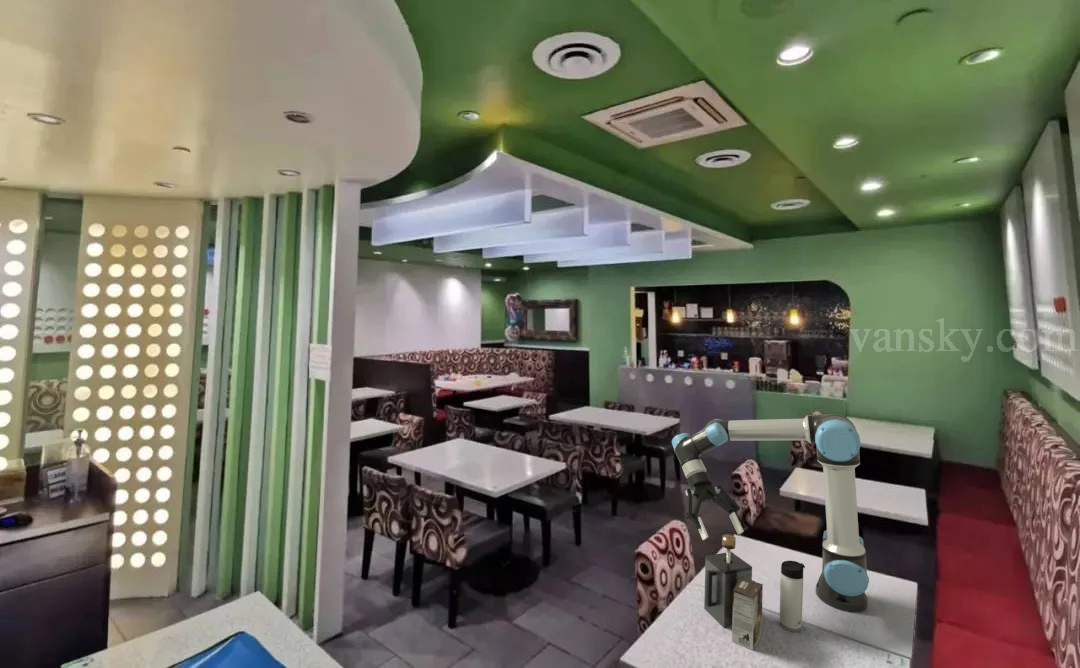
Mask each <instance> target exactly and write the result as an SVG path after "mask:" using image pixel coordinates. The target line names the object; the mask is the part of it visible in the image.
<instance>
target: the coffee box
mask: <svg viewBox="0 0 1080 668" xmlns="http://www.w3.org/2000/svg"><path fill="white" fill-rule="evenodd" d="M763 589H764V588H763V583H761V582H757V581H756V580H755V581H754V580H753V579H752V580H750V579H747V578H744V577H741V579H740V580H739V582H738V583H737V585H736V586H735V588H734V589H733V622H732V626H731V628H732V629H731V631H732V632H731V642H733V643H735V644H737V645H739V646H741V647H744V648H747V649H749V650H751V651H755V648H756V646H757V645H758V642H759V641H760V638H761V636H762V633H763V631H762V630H763V621H762V620H763V594H764V593H763Z"/></svg>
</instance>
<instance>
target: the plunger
mask: <svg viewBox="0 0 1080 668" xmlns="http://www.w3.org/2000/svg"><path fill="white" fill-rule="evenodd" d="M721 537H722V538H721V539H722V540H721V542H722V543H721V546H722V547H723V548H724V549H726V552H727V555H726V563H730V555H731V552H732V550H735V549H736V536H735V535H733V534H730V533H729V534H723V535H721Z"/></svg>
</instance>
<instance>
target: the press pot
mask: <svg viewBox="0 0 1080 668" xmlns="http://www.w3.org/2000/svg"><path fill="white" fill-rule="evenodd" d="M726 555H727V551H726V552H721V553H720V552H719V553H714V554H709V555H705V559H704V560H705V562H704V563H705V566H704V573H705V574H704V606H703V609H704V610H705V611H706V613H708V614H709V615H710V616H711V617H712V618H713V619H714V620H715V621H716V623H717V622H718V624H719V625H720V626H721V627H723V629H724V628H729V627H732V622H733V589H734V588H735V586H736V585H737V583H738V582H739V580H740V579H741V577H744V578H747V579H750V580H753V566H752V565H750V564H749V563H747V562H746V561H745V560H744V559H742V558H740V556H738V555H737V554H735V552H733V551H731V555H730V563H726Z"/></svg>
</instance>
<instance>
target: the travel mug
mask: <svg viewBox="0 0 1080 668" xmlns="http://www.w3.org/2000/svg"><path fill="white" fill-rule="evenodd" d="M805 567H806V566H805V565H804V563H802V562H799V561H796V560H785V561H783V562H781V566H780V587H779V590H780V591H779V592H780V593H779V594H780V595H779V618H778V619H779V620H778V621H779V625H780V626H781V628H783V629H784V630H786V631H789V632H793V633H796V632H797V633H798V632H800V631H801V630H802V629H803V628H802V627H803V600H804V599H803V598H804V569H805Z"/></svg>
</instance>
